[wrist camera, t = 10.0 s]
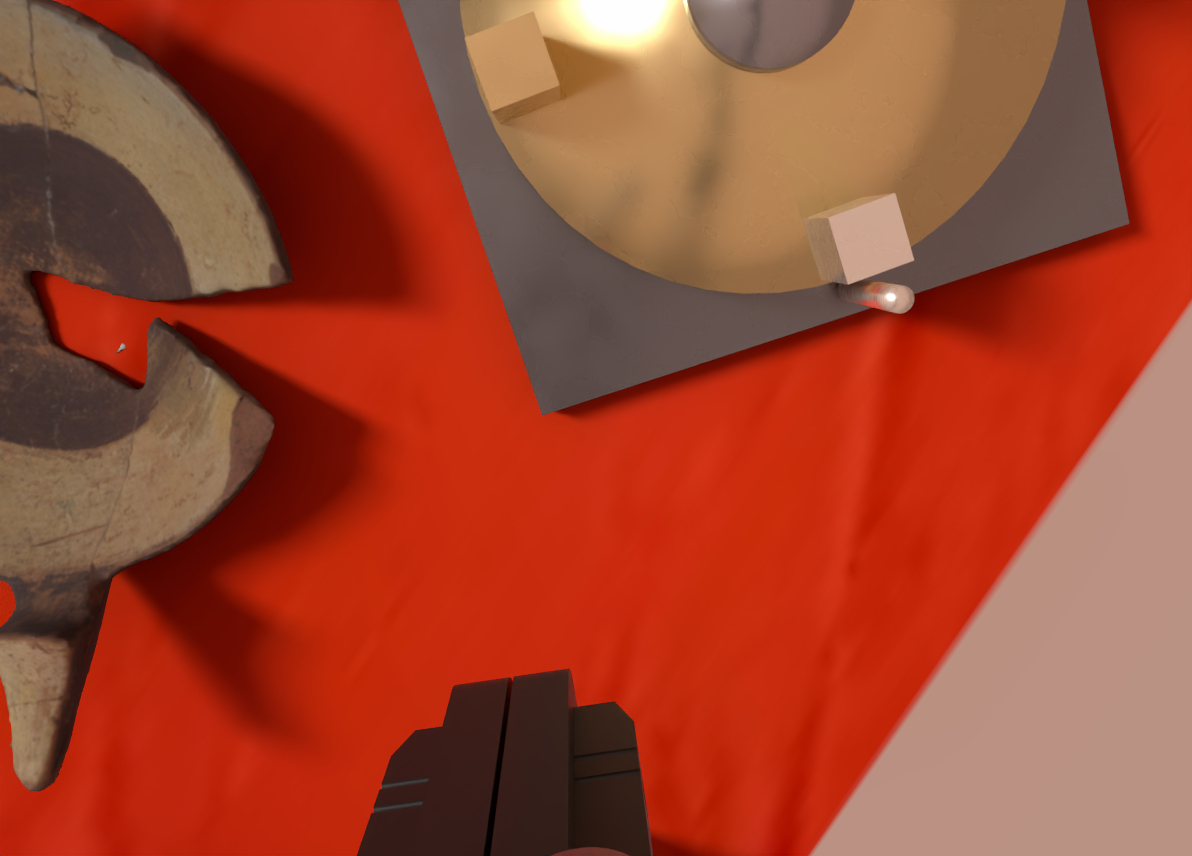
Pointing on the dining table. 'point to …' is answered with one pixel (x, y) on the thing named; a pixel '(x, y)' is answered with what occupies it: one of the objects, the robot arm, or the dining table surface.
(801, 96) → the round brass tray
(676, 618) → the dining table surface
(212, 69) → the dining table surface
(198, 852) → the dining table surface
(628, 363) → the base plate
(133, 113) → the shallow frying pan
